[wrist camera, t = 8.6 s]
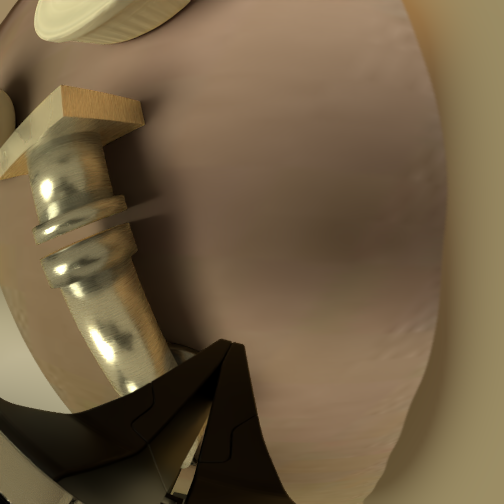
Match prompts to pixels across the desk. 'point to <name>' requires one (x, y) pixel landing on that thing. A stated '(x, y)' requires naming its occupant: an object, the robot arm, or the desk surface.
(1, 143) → the black egg-shaped dome
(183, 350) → the metal pipe fitting
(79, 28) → the ramekin
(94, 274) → the elbow
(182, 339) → the desk surface
